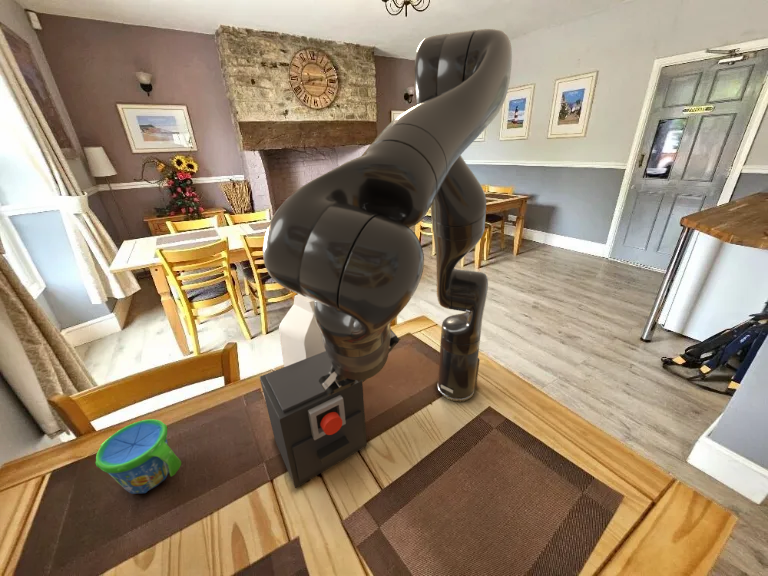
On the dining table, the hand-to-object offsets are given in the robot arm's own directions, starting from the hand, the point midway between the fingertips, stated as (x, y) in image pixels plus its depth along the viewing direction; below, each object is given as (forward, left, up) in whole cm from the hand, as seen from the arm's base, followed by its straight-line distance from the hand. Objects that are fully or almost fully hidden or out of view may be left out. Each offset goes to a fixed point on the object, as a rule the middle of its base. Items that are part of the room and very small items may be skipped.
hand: (362, 374), depth 51 cm
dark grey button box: (+5, -11, -25) cm, 28 cm away
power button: (+5, -4, -13) cm, 14 cm away
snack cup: (+36, -25, -25) cm, 50 cm away
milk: (-2, -31, -25) cm, 40 cm away
